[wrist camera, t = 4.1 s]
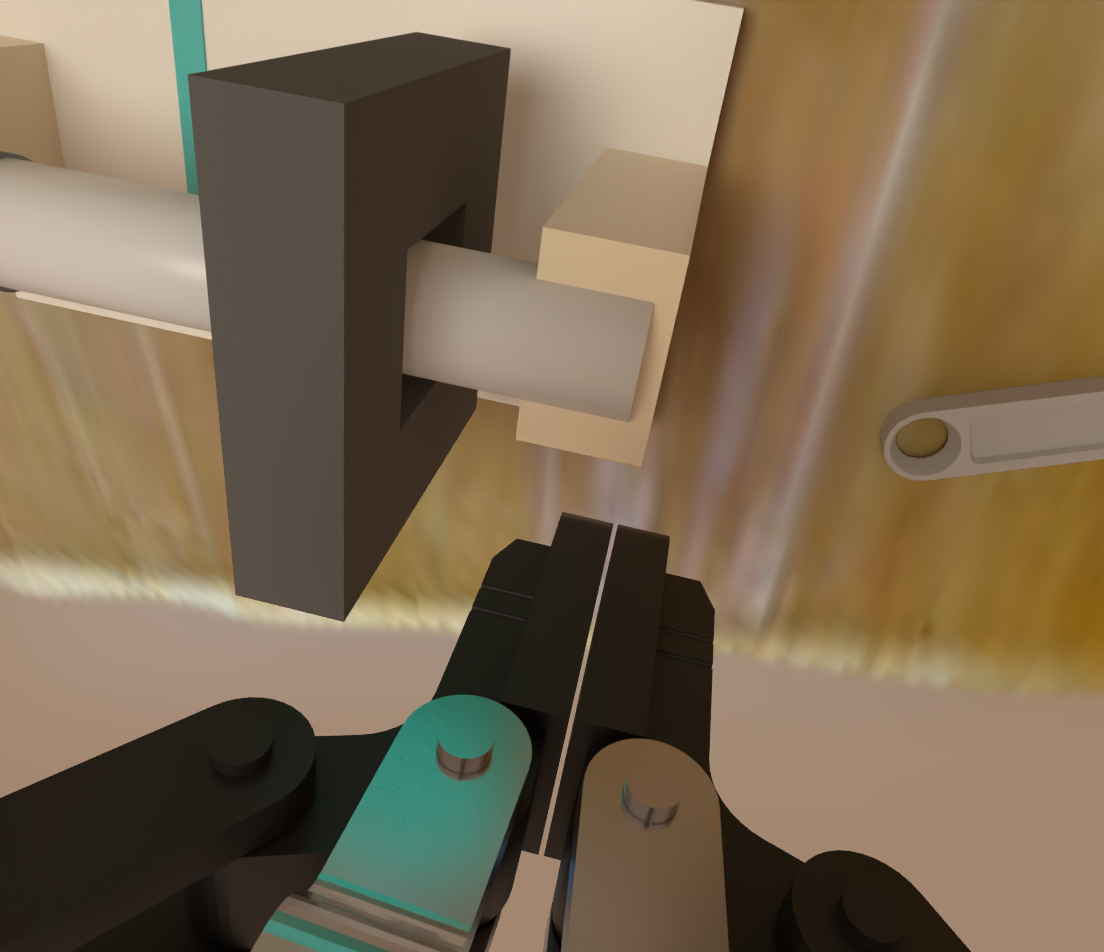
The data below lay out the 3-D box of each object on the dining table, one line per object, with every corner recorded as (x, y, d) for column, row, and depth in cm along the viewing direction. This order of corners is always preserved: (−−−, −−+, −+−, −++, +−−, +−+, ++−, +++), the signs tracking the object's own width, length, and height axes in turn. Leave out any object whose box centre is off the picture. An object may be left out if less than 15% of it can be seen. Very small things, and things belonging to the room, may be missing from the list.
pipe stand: (744, 6, 23) (742, 32, 13) (650, 414, 30) (605, 626, 20) (-38, -123, 25) (-523, -180, 16) (44, 284, 32) (-256, 419, 23)
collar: (510, 48, 20) (344, 103, 12) (475, 408, 26) (343, 621, 17) (416, 31, 20) (187, 74, 12) (401, 392, 26) (236, 594, 17)
